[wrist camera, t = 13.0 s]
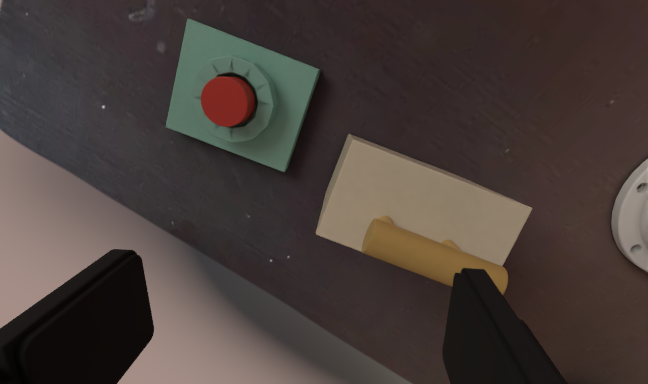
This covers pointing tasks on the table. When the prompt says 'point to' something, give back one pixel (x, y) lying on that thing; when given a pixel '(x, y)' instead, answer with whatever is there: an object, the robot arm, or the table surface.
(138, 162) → the table surface
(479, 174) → the table surface
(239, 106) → the button
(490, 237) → the clock
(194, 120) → the switch box
